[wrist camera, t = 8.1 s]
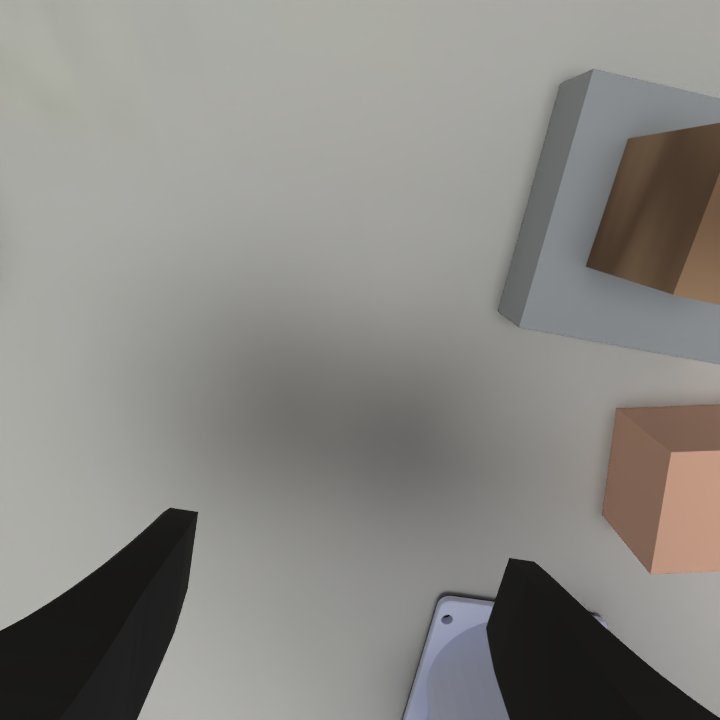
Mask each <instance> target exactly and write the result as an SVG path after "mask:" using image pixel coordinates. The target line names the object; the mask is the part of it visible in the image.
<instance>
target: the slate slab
mask: <svg viewBox="0 0 720 720" xmlns="http://www.w3.org/2000/svg"><path fill="white" fill-rule="evenodd" d="M715 123H720V99H719V98H714V97H710V96H706V95H702V94H698V93H693V92H689V91H685V90H681V89H676V88H672V87H668V86H664V85H659V84H655V83H651V82H647V81H643V80H638V79H634V78H630V77H626V76H621V75H617V74H613V73H609V72H604V71H600V70H596V69H592V70H590V71H588V72H585V73H583V74H581V75H579V76H576V77H574V78H572V79H570V80H567V81H565V82H563V83H561V84H560V86H559V90H558V93H557V97H556V101H555V104H554V108H553V112H552V115H551V119H550V123H549V126H548V130H547V134H546V137H545V141H544V144H543V148H542V152H541V155H540V159H539V163H538V166H537V170H536V174H535V177H534V181H533V185H532V188H531V192H530V196H529V199H528V203H527V207H526V210H525V214H524V217H523V221H522V225H521V228H520V232H519V236H518V239H517V243H516V247H515V250H514V254H513V258H512V261H511V265H510V269H509V272H508V276H507V280H506V283H505V287H504V291H503V294H502V298H501V301H500V305H499V309H498V311H499V312H500V313H501V314H502V315H504V316H505V317H506V318H508V319H509V320H510V321H511V322H513V323H514V324H515V325H517V326H518V327H519V328H525V329H530V330H535V331H541V332H546V333H552V334H557V335H563V336H568V337H573V338H579V339H584V340H590V341H595V342H601V343H606V344H611V345H617V346H622V347H628V348H633V349H639V350H644V351H649V352H655V353H660V354H666V355H671V356H677V357H682V358H687V359H693V360H698V361H704V362H709V363H715V364H720V305H718V304H713V303H708V302H704V301H699V300H695V299H690V298H686V297H681V296H676V295H672V294H669V293H666V292H663V291H660V290H657V289H654V288H650V287H647V286H644V285H641V284H638V283H635V282H632V281H629V280H625V279H622V278H619V277H616V276H613V275H610V274H607V273H604V272H601V271H597V270H594V269H591V268H588V267H586V264H587V261H588V258H589V255H590V252H591V249H592V246H593V243H594V240H595V237H596V234H597V231H598V228H599V225H600V222H601V219H602V216H603V213H604V210H605V207H606V204H607V201H608V198H609V195H610V192H611V189H612V186H613V183H614V179H615V176H616V173H617V170H618V167H619V164H620V161H621V158H622V155H623V152H624V149H625V146H626V143H627V140H628V138H634V137H640V136H646V135H651V134H657V133H663V132H669V131H675V130H680V129H686V128H692V127H698V126H704V125H709V124H715Z"/></svg>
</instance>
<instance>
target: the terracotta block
mask: <svg viewBox="0 0 720 720" xmlns="http://www.w3.org/2000/svg"><path fill="white" fill-rule="evenodd" d="M602 515H603V516H604V517H605V519H606V520H607V521H608V522H609V524H610V525H611V526H612V527H613V529H614V530H615V531H616V532H617V534H618V535H619V536H620V537H621V539H622V540H623V541H624V542H625V543H626V545H627V546H628V547H629V548H630V550H631V551H632V552H633V553H634V555H635V556H636V557H637V558H638V560H639V561H640V562H641V563H642V565H643V566H644V567H645V568H646V570H647V571H648V572H649V573H650V574H669V573H691V572H713V571H720V405H697V406H669V407H641V408H616V415H615V422H614V430H613V438H612V445H611V453H610V460H609V468H608V475H607V483H606V490H605V498H604V505H603V513H602Z"/></svg>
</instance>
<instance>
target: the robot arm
mask: <svg viewBox="0 0 720 720" xmlns="http://www.w3.org/2000/svg"><path fill="white" fill-rule="evenodd" d="M197 516H198V512H194V511H188V510H181V509H174V508H169V509H168V510H166V511H164V512H163V513H162V514H161V515H160V516H159V517H158V518H157V519H156V520H155V521H154V522H153V523H152V524H151V525H149V526H148V527H147V528H146V529H145V530H144V531H143V532H142V533H141V534H139V535H138V536H137V537H136V538H135V539H134V540H133V541H131V542H130V543H129V544H128V545H127V546H125V547H124V548H123V549H122V550H121V551H119V552H118V553H117V554H116V555H115V556H113V557H112V558H111V559H110V560H108V561H107V562H106V563H105V564H103V565H102V566H101V567H99V568H98V569H97V570H95V571H94V572H93V573H91V574H90V575H89V576H87V577H86V578H84V579H83V580H82V581H80V582H79V583H78V584H76V585H75V586H74V587H72V588H71V589H69V590H68V591H66V592H65V593H63V594H62V595H60V596H59V597H57V598H56V599H54V600H53V601H51V602H50V603H48V604H47V605H45V606H43V607H42V608H40V609H38V610H37V611H35V612H34V613H32V614H30V615H29V616H27V617H25V618H24V619H22V620H20V621H18V622H16V623H14V624H12V625H11V626H9V627H7V628H5V629H3V630H1V631H0V720H137V718H138V716H139V713H140V711H141V709H142V706H143V704H144V702H145V699H146V697H147V695H148V693H149V690H150V688H151V686H152V683H153V681H154V679H155V676H156V674H157V672H158V669H159V667H160V665H161V662H162V660H163V658H164V655H165V653H166V651H167V648H168V646H169V644H170V641H171V639H172V636H173V634H174V631H175V628H176V625H177V622H178V619H179V615H180V612H181V609H182V605H183V602H184V599H185V595H186V592H187V589H188V582H189V574H190V567H191V560H192V552H193V545H194V538H195V530H196V523H197ZM445 615H450V616H449V617H447V618H443V616H445ZM403 720H720V718H719V717H717V716H716V715H714V714H713V713H712V712H710V711H709V710H707V709H706V708H704V707H703V706H702V705H700V704H699V703H697V702H696V701H695V700H693V699H692V698H691V697H689V696H688V695H687V694H685V693H684V692H683V691H681V690H680V689H679V688H677V687H676V686H675V685H673V684H672V683H671V682H669V681H668V680H667V679H665V678H664V677H663V676H662V675H660V674H659V673H658V672H657V671H655V670H654V669H653V668H652V667H650V666H649V665H648V664H647V663H646V662H644V661H643V660H642V659H641V658H640V657H639V656H637V655H636V654H635V653H634V652H633V651H631V650H630V649H629V648H628V647H627V646H626V645H624V644H623V643H622V642H621V641H620V640H619V639H618V638H617V637H615V636H614V635H613V634H612V633H611V632H610V631H609V630H608V627H607V624H606V623H605V621H604V620H603V619H602V618H601V617H598V616H592V615H591V614H590V613H589V612H588V611H587V610H586V609H585V608H584V607H583V606H582V605H581V604H580V603H579V602H578V601H577V600H576V599H574V598H573V597H572V596H571V595H570V594H569V593H568V592H567V591H566V590H565V589H564V588H563V587H562V586H561V585H560V584H559V583H558V582H557V581H555V580H554V579H553V578H552V577H551V576H550V575H549V574H548V573H547V572H546V571H545V570H543V569H542V568H541V567H540V566H539V565H537V564H536V563H535V562H532V561H525V560H519V559H512V558H509V561H508V564H507V567H506V570H505V573H504V576H503V579H502V582H501V584H500V587H499V590H498V593H497V596H496V599H495V602H491V601H484V600H477V599H470V598H463V597H456V596H445V597H443V598H441V599H440V600H439V602H438V604H437V607H436V610H435V614H434V617H433V620H432V624H431V627H430V630H429V634H428V637H427V640H426V644H425V647H424V650H423V654H422V657H421V660H420V664H419V667H418V670H417V674H416V677H415V680H414V684H413V687H412V690H411V694H410V697H409V700H408V704H407V707H406V711H405V714H404V717H403Z"/></svg>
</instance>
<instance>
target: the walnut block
mask: <svg viewBox="0 0 720 720" xmlns="http://www.w3.org/2000/svg"><path fill="white" fill-rule="evenodd" d="M586 267H588V268H591V269H594V270H597V271H601V272H604V273H607V274H610V275H613V276H616V277H619V278H622V279H625V280H629V281H632V282H635V283H638V284H641V285H644V286H647V287H650V288H654V289H657V290H660V291H663V292H666V293H669V294H672V295H676V296H681V297H686V298H690V299H695V300H699V301H704V302H708V303H713V304H718V305H720V123H715V124H709V125H704V126H698V127H692V128H686V129H680V130H675V131H669V132H663V133H657V134H651V135H646V136H640V137H634V138H628V140H627V143H626V146H625V149H624V152H623V155H622V158H621V161H620V164H619V167H618V170H617V173H616V176H615V179H614V183H613V186H612V189H611V192H610V195H609V198H608V201H607V204H606V207H605V210H604V213H603V216H602V219H601V222H600V225H599V228H598V231H597V234H596V237H595V240H594V243H593V246H592V249H591V252H590V255H589V258H588V261H587V264H586Z"/></svg>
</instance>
